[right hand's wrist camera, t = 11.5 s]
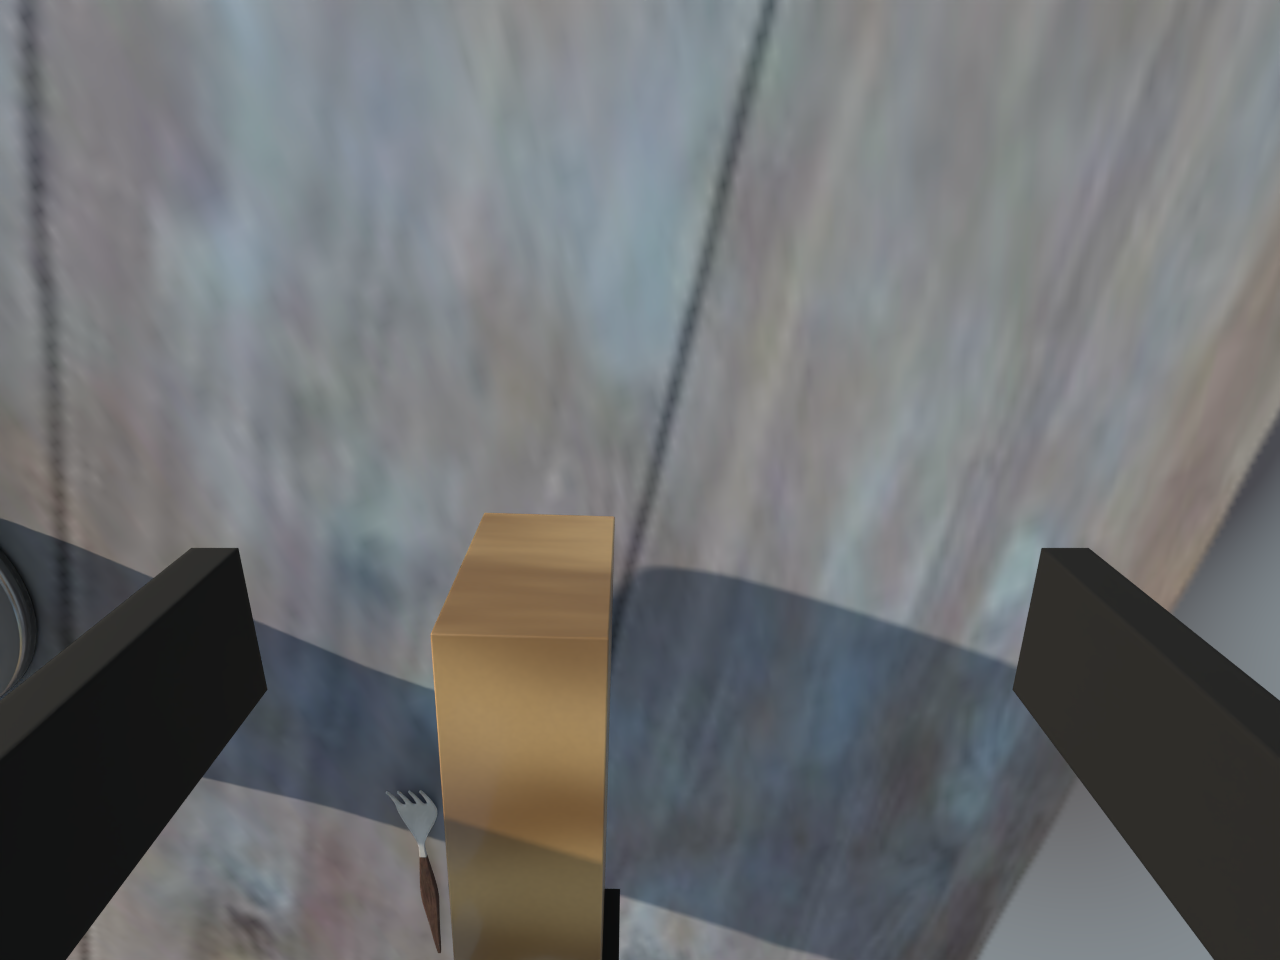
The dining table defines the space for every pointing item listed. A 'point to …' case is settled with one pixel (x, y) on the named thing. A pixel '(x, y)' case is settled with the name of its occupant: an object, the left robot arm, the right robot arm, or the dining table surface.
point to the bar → (527, 736)
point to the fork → (423, 853)
